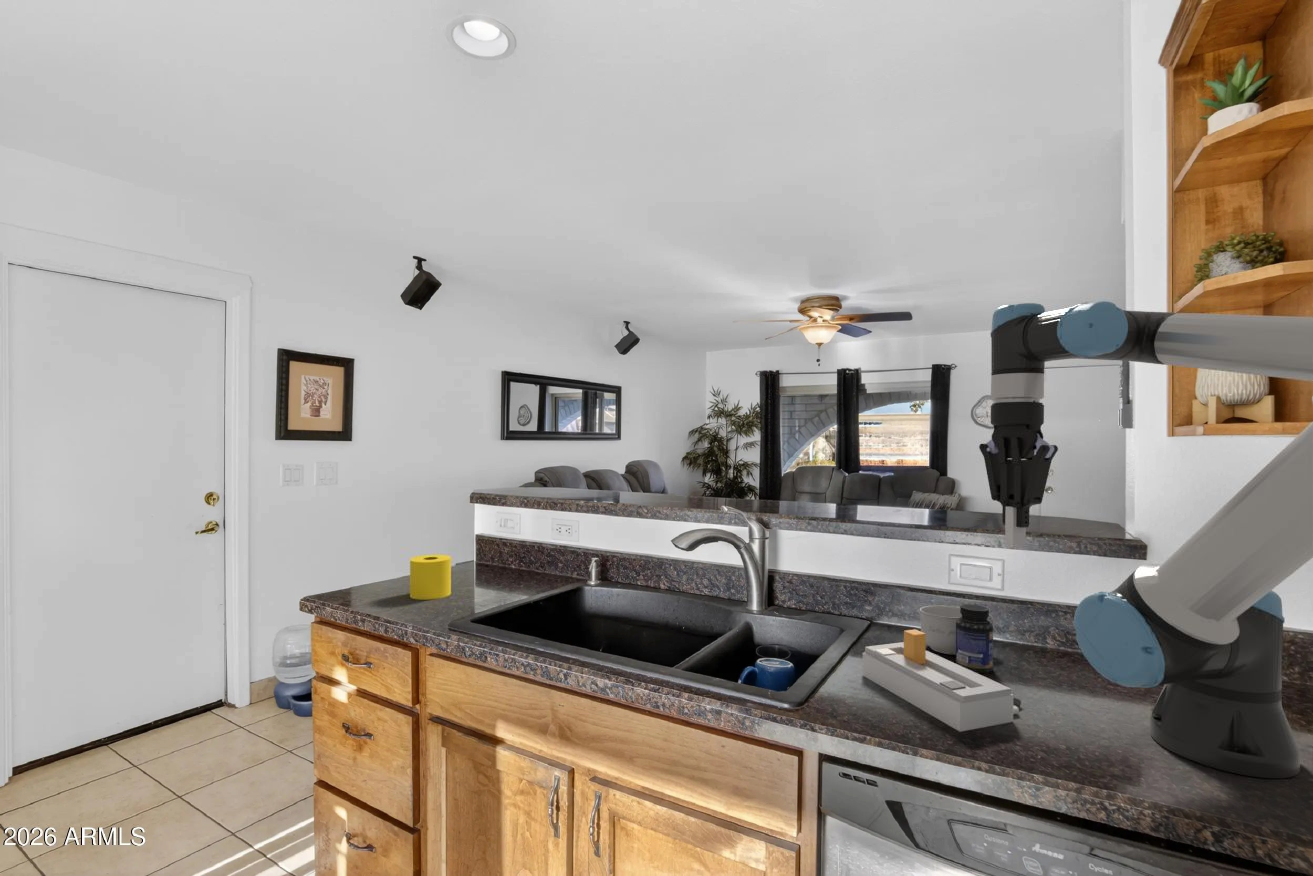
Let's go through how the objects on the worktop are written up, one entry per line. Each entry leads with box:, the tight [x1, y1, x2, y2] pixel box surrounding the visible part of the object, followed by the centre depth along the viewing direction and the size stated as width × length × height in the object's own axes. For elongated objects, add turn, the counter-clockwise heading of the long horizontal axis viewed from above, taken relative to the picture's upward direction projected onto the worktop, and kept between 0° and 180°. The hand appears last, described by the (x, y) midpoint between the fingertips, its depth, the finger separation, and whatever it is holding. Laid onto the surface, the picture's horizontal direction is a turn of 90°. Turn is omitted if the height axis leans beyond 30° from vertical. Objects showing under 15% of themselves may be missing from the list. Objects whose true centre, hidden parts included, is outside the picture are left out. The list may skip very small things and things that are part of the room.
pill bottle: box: [955, 603, 994, 674], centre depth 115 cm, size 6×6×11 cm
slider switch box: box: [862, 641, 1014, 732], centre depth 102 cm, size 22×10×5 cm, turn 19°
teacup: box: [919, 604, 996, 656], centre depth 124 cm, size 14×11×8 cm
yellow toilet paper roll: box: [409, 554, 452, 601], centre depth 164 cm, size 10×10×9 cm
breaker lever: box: [903, 629, 927, 664], centre depth 106 cm, size 2×2×5 cm
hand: (1015, 546), depth 102 cm, fingers closed
